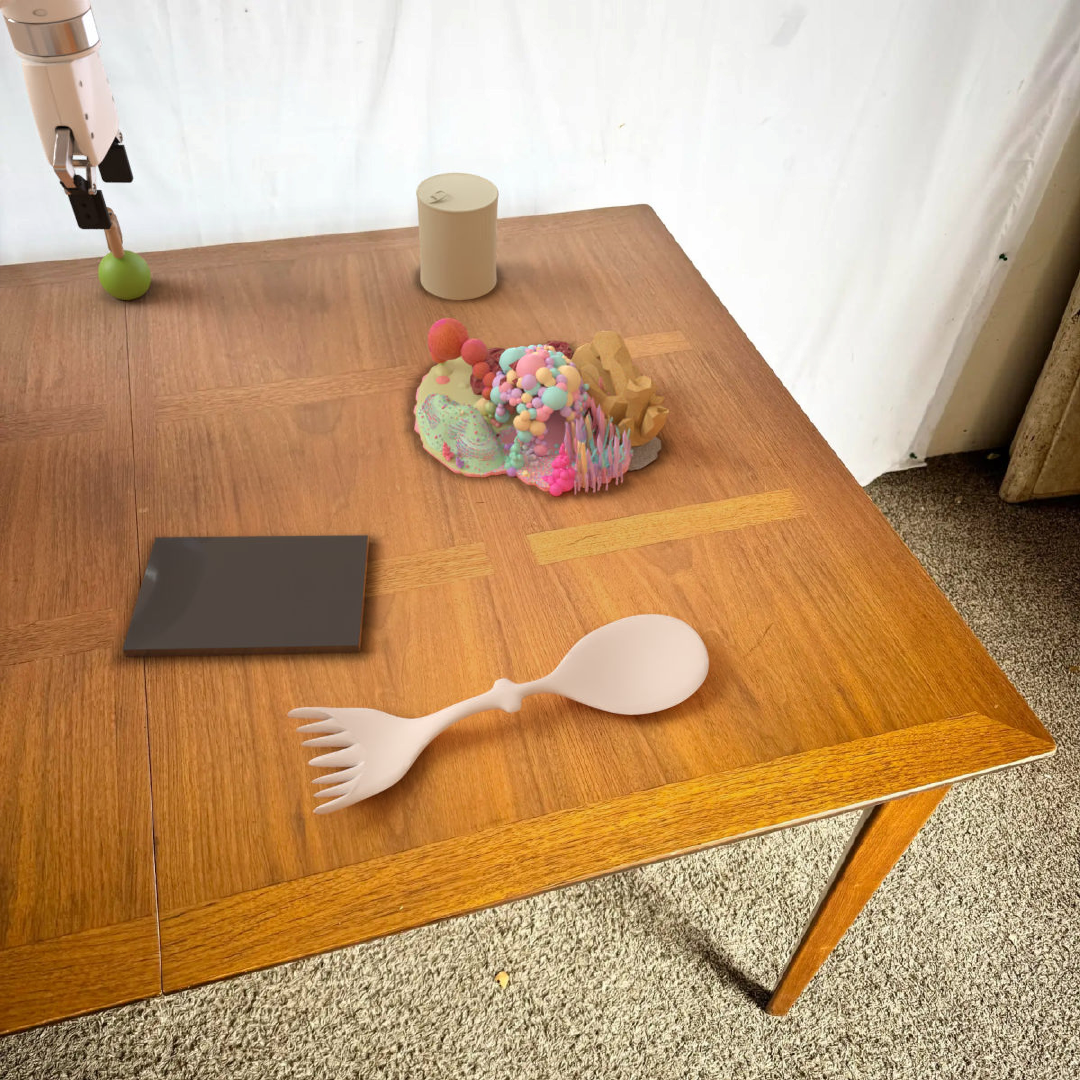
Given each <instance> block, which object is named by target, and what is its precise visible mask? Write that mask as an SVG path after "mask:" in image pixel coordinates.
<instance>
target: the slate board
mask: <svg viewBox="0 0 1080 1080" xmlns="http://www.w3.org/2000/svg"><path fill="white" fill-rule="evenodd" d="M369 548H370V539H369V535H368V534H352V535H351V534H347V535H346V534H344V535H343V534H342V535H341V534H340V535H339V534H337V535H335V534H333V535H248V536H246V535H244V536H243V535H241V536H240V535H239V536H231V535H230V536H155V538H154V541H153V544H152V548H151V550H150V551H151V552H150V554H149V558H148V561H147V565H146V569H145V571H144V576H143V579H142V582H141V585H140V589H139V593H138V594H137V595H138V596H137V599H136V602H135V606H134V610H133V613H132V617H131V620H130V623H129V625H128V629H127V633H126V637H125V640H124V644H123V647H122V652H123V654H124V656H125V658H133V657H134V658H140V657H141V658H144V657H145V658H146V657H149V658H150V657H151V658H152V657H195V656H196V657H197V656H198V657H199V656H244V655H245V656H247V655H250V656H252V655H296V654H297V655H300V654H302V655H303V654H347V653H348V654H352V653H353V654H354V653H356V654H357V653H361V645H362V644H361V643H362V632H363V621H364V620H363V619H364V609H365V596H366V585H367V584H366V583H367V582H366V581H367V572H368V571H367V570H368V561H369V559H368V558H369Z"/></svg>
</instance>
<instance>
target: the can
mask: <svg viewBox="0 0 1080 1080" xmlns="http://www.w3.org/2000/svg"><path fill="white" fill-rule="evenodd" d="M415 193H416V195H415V196H416V202H417V216H418V217H417V218H418V238H419V262H420V263H419V264H420V265H419V266H420V283H421V286H422V287H423V289H424V290H425V291H427V292H428V293H429V294H431V295H434V296H436V297H439V298H442V299H445V300H451V301H452V300H454V301H466V300H473V299H476V298H480V297H482V296H486V295H487V294H489V293H490V292H491V291H492V290H493V289H494V288H495V286H496V285H497V239H498V237H497V236H498V205H499V203H498V202H499V189H498V187H497V185H496V184H495V183H494V182H492V181H491V180H489V179H487V178H485V177H482V176H480V175H476V174H473V173H466V172H446V173H445V172H444V173H440V174H435V175H432V176H429V177H427V178H425V179H424V180H422V181H421V182H420V183H419V184H418V185H417V188H416V190H415Z"/></svg>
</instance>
